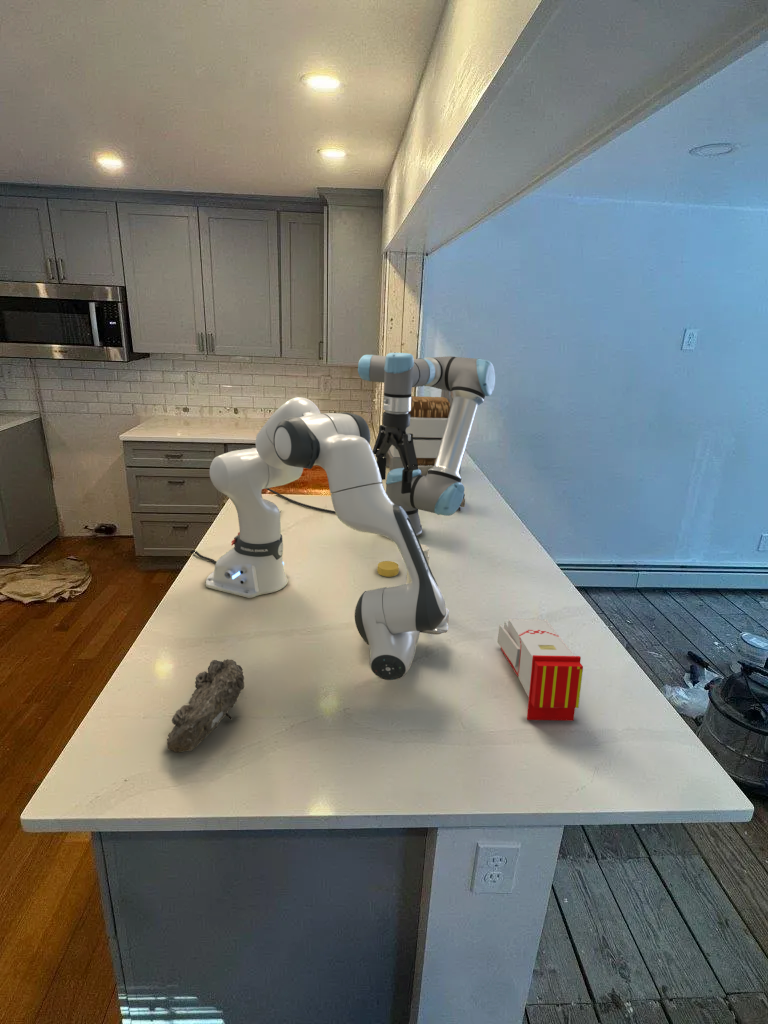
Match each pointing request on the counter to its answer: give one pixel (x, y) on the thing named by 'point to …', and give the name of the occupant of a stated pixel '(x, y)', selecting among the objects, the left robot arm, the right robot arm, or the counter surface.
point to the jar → (425, 550)
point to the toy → (542, 668)
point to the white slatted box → (424, 429)
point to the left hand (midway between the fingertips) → (409, 598)
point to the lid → (388, 568)
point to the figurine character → (462, 503)
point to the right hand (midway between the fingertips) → (392, 486)
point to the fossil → (206, 705)
